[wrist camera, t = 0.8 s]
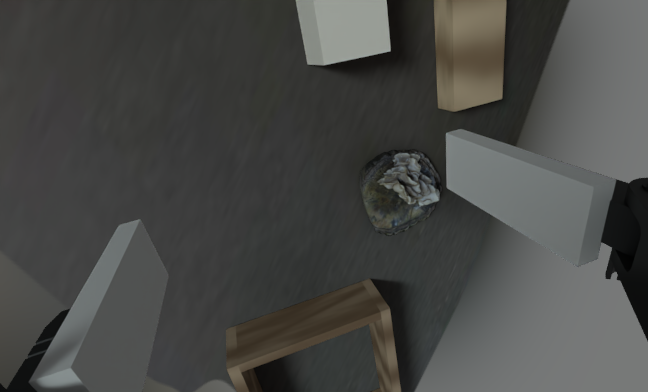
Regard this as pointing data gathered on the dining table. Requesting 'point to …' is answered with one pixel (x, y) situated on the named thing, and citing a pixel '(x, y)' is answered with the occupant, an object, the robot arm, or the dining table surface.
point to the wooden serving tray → (314, 334)
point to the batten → (469, 52)
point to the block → (343, 29)
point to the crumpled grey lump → (399, 190)
